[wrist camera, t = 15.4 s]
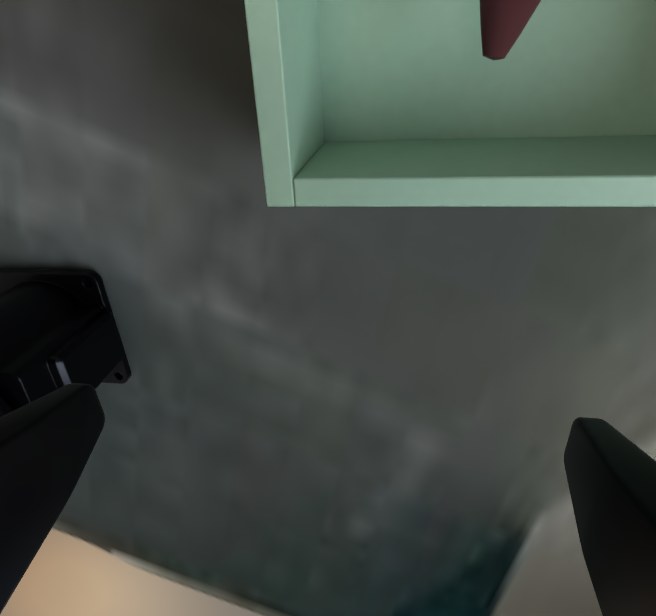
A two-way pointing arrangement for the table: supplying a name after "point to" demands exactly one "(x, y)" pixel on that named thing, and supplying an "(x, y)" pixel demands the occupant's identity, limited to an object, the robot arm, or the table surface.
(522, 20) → the icecream
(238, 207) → the table surface
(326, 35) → the green open box
